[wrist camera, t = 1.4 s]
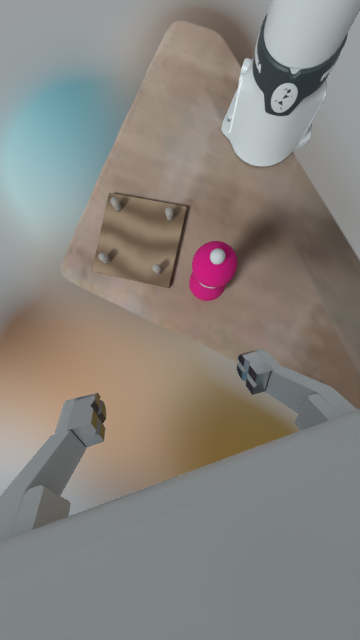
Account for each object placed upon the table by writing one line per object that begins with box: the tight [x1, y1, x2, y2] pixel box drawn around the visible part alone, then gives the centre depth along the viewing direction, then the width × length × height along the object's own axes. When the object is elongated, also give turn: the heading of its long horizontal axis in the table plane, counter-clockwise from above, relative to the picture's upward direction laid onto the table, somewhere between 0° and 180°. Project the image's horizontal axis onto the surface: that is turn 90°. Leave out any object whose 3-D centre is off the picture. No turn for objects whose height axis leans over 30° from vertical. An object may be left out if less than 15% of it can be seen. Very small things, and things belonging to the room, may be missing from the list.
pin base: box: [92, 193, 187, 288], centre depth 39 cm, size 18×18×4 cm
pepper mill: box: [189, 241, 237, 301], centre depth 30 cm, size 7×7×20 cm
